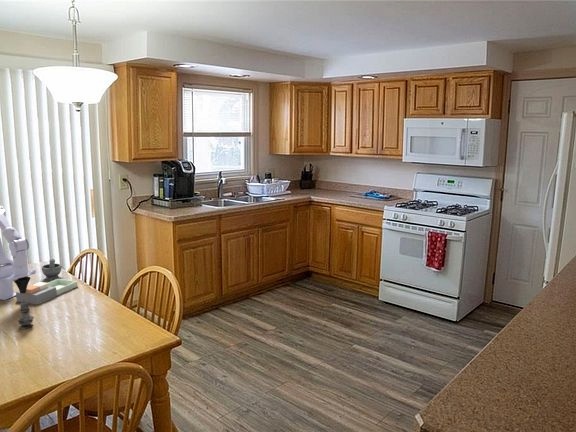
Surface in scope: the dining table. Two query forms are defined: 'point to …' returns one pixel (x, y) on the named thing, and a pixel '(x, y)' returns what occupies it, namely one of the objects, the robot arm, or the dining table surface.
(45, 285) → the cream tile
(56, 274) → the mortar and pestle
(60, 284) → the green bin
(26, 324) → the dark grey chess piece
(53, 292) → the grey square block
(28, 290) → the terracotta tile
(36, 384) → the dining table surface
